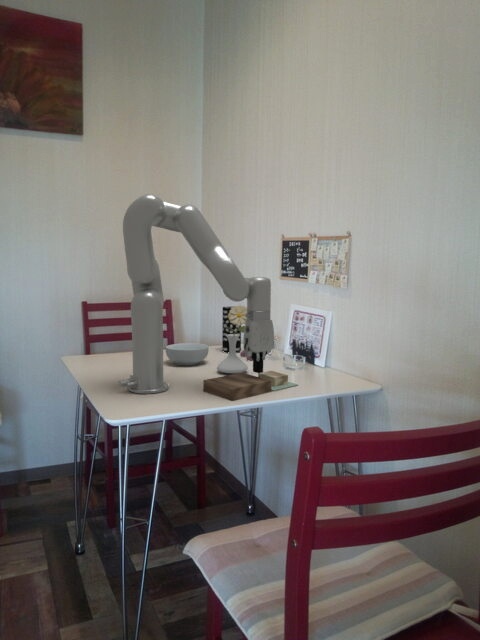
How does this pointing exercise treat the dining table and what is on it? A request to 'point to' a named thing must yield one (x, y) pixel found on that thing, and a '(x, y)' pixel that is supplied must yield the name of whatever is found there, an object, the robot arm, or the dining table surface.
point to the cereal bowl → (187, 353)
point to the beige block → (274, 378)
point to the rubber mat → (283, 386)
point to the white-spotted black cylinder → (229, 331)
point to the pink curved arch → (245, 355)
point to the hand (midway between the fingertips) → (258, 372)
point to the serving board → (237, 386)
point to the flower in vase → (234, 342)
